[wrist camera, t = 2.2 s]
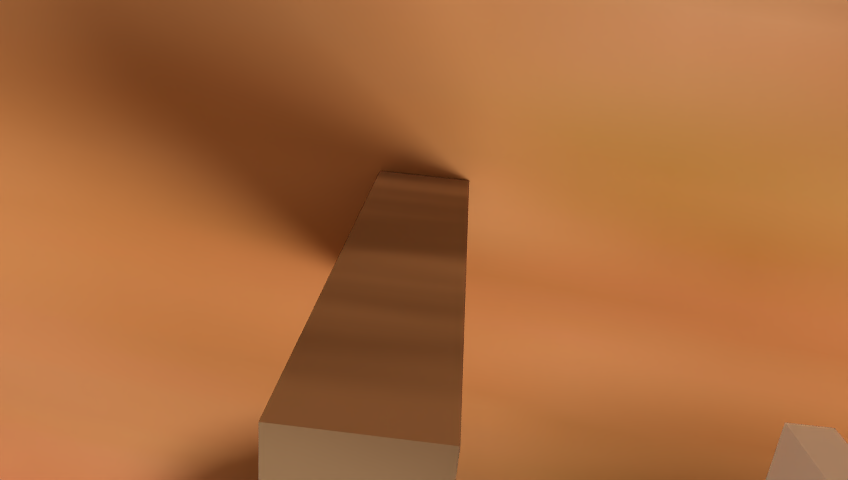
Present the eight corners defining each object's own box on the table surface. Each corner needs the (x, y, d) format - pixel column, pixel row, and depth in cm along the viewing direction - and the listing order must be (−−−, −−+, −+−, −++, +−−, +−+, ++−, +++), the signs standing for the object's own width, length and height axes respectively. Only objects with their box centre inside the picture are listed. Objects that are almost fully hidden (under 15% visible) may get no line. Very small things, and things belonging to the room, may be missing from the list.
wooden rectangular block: (380, 170, 18) (258, 422, 8) (468, 180, 18) (460, 446, 8) (372, 284, 20) (257, 626, 9) (455, 294, 19) (432, 649, 9)
